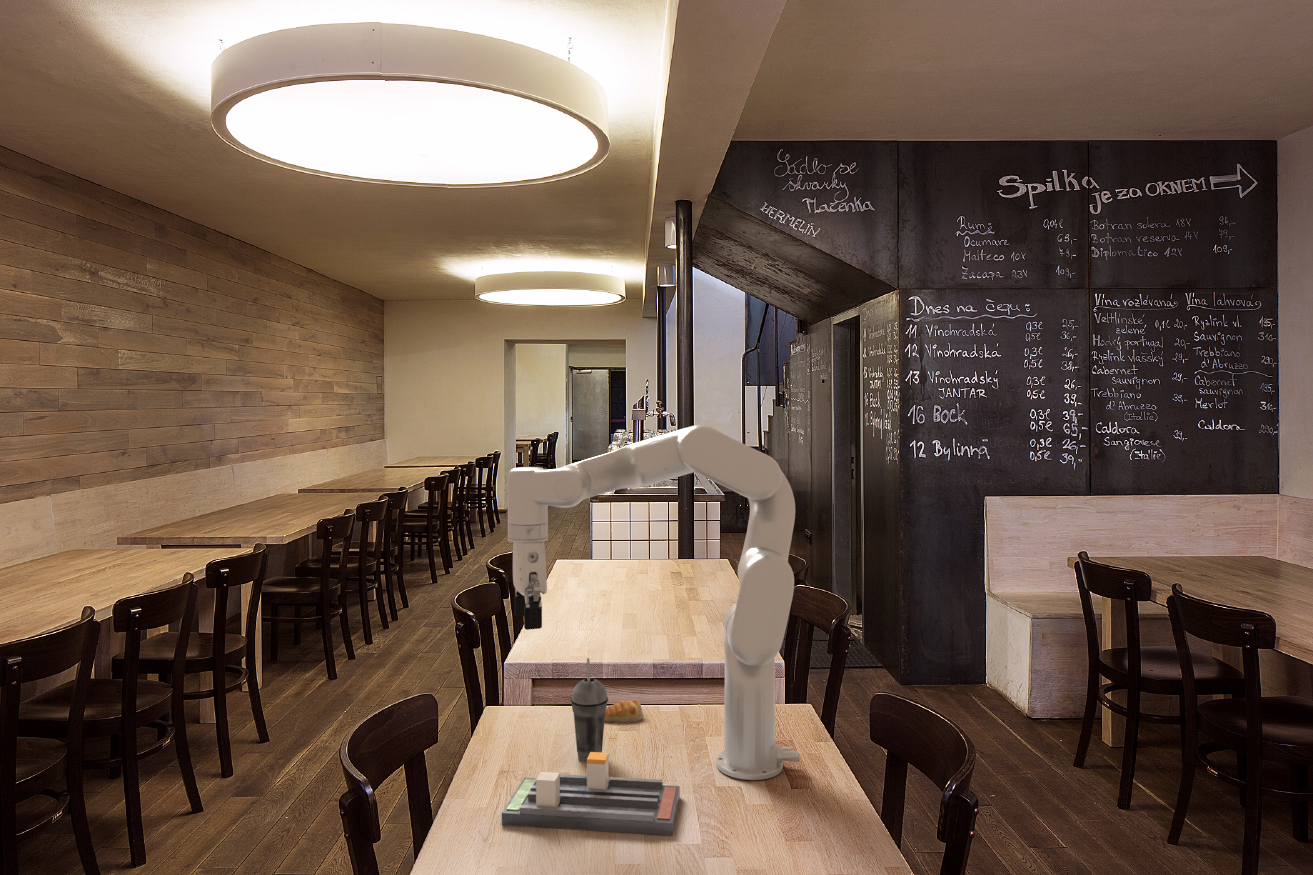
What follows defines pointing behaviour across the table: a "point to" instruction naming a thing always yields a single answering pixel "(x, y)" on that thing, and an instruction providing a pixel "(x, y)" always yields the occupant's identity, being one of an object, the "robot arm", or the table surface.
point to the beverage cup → (589, 715)
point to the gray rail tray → (598, 806)
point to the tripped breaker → (597, 771)
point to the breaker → (548, 789)
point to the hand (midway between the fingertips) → (527, 622)
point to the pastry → (624, 712)
